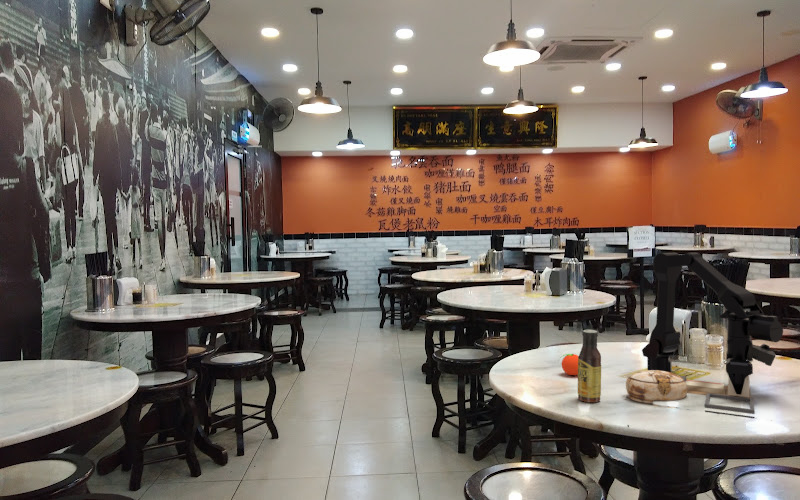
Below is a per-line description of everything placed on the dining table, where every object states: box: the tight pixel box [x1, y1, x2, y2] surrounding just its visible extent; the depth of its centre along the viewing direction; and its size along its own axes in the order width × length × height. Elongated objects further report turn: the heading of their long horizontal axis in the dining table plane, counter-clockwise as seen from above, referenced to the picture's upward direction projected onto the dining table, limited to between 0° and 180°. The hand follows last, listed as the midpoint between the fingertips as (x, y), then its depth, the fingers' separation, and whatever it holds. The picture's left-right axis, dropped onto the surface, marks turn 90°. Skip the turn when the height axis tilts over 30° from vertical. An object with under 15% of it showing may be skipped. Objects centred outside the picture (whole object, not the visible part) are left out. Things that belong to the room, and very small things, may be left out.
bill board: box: [679, 375, 752, 398], centre depth 163 cm, size 18×12×4 cm, turn 60°
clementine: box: [558, 353, 579, 376], centre depth 186 cm, size 8×7×7 cm
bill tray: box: [704, 393, 755, 419], centre depth 151 cm, size 11×11×2 cm
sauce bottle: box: [577, 329, 602, 404], centre depth 160 cm, size 7×6×20 cm
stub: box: [727, 375, 750, 397], centre depth 160 cm, size 5×6×5 cm
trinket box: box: [625, 370, 688, 404], centre depth 160 cm, size 13×15×8 cm
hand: (738, 390), depth 160 cm, fingers open, 7 cm apart
